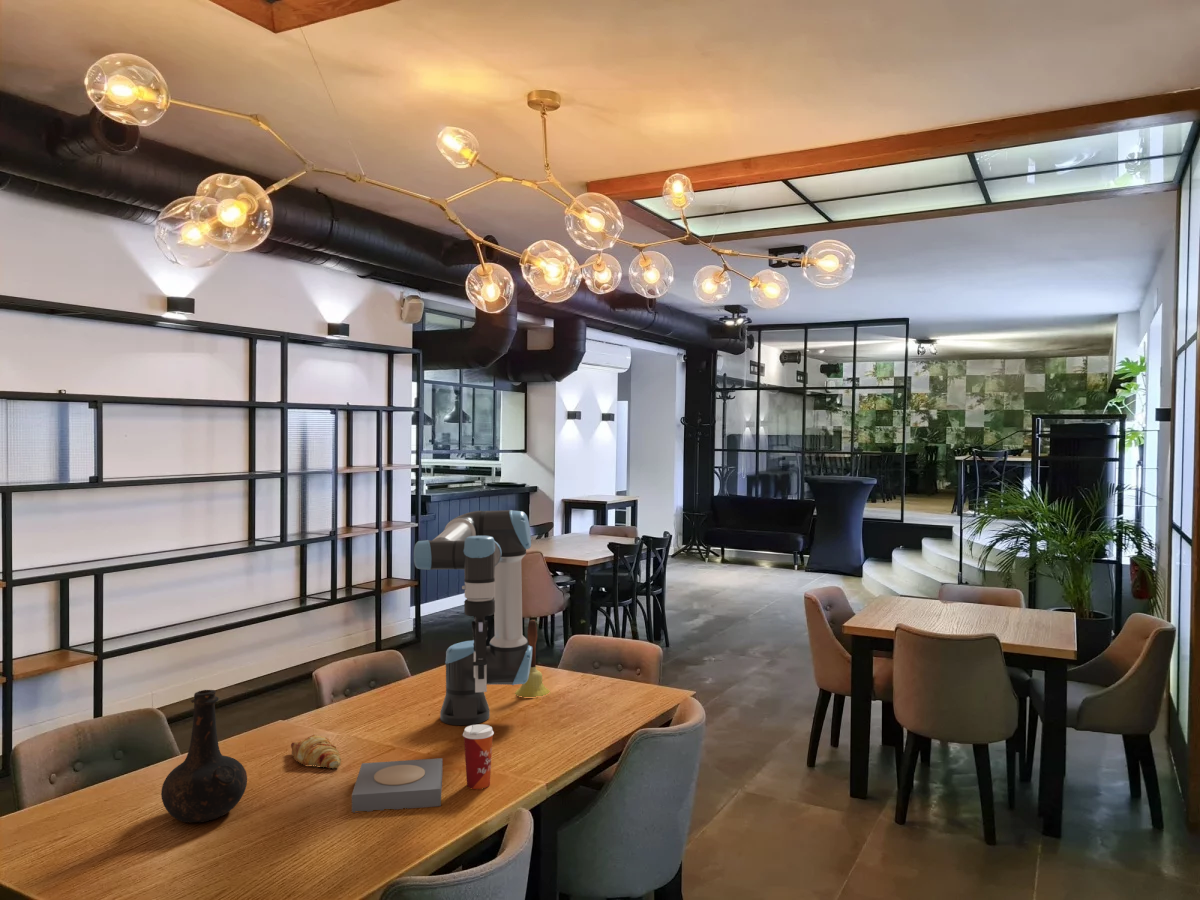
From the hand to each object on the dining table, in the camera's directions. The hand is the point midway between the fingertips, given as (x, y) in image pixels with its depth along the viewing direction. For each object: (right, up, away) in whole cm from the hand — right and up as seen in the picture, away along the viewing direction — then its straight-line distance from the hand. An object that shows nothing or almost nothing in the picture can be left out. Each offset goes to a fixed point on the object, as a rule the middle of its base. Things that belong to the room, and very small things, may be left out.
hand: (479, 684), depth 207 cm
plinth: (-19, -25, -4) cm, 32 cm away
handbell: (+7, -26, +79) cm, 83 cm away
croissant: (-47, -26, +16) cm, 56 cm away
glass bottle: (-60, -25, -16) cm, 68 cm away
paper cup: (0, -25, 0) cm, 25 cm away
